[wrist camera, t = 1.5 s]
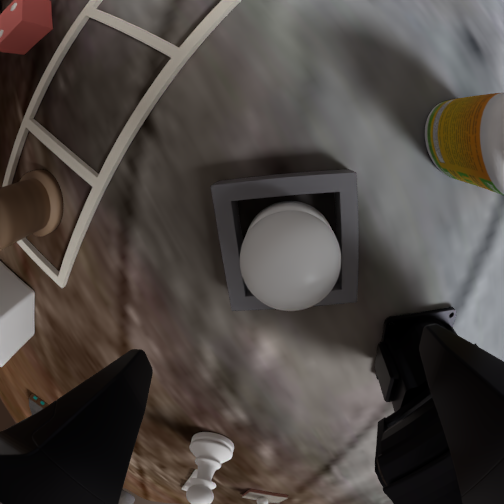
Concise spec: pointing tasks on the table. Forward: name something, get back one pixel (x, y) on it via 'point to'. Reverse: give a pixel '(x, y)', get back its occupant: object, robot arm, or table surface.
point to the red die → (24, 25)
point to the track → (128, 133)
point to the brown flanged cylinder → (30, 207)
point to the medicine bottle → (14, 313)
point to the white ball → (290, 256)
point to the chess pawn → (207, 464)
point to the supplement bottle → (469, 140)
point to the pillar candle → (126, 498)
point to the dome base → (286, 185)
